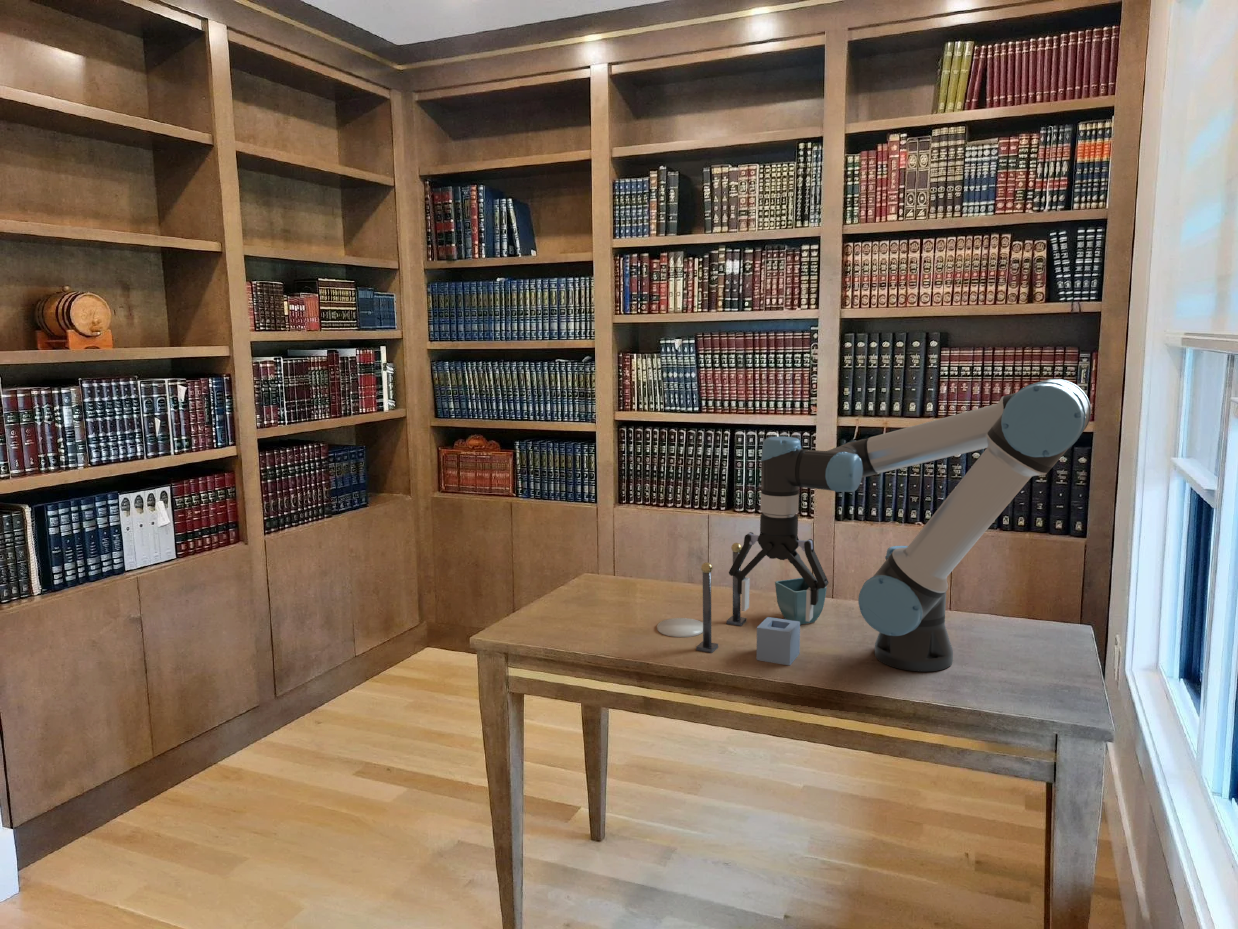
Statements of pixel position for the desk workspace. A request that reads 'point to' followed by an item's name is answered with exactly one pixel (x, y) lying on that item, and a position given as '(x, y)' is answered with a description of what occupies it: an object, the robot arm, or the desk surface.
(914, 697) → the desk surface
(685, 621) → the white round disc
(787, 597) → the flower pot
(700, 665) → the desk surface
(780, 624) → the hollow square tube
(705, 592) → the gold-tipped post pair
